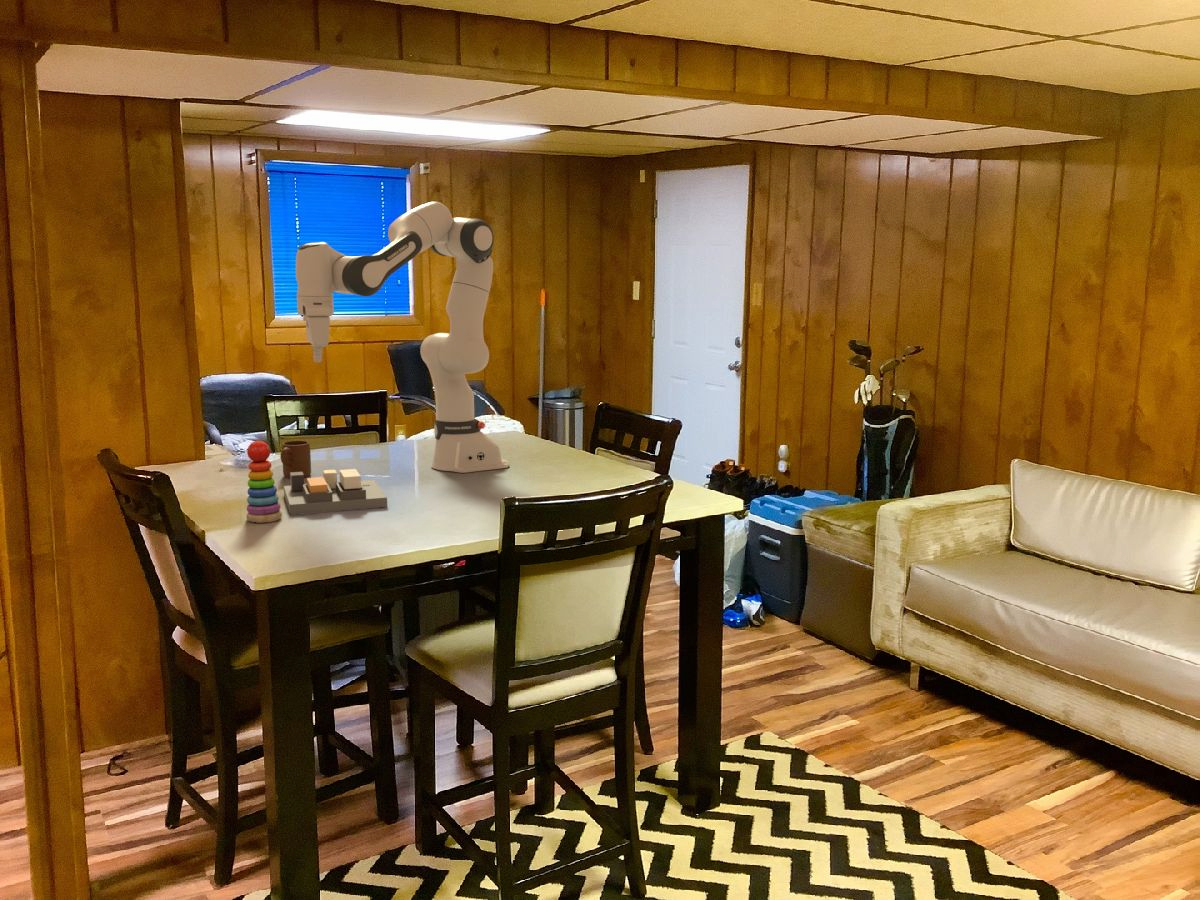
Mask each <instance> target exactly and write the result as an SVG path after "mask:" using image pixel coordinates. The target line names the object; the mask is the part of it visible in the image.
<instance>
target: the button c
mask: <svg viewBox="0 0 1200 900" xmlns="http://www.w3.org/2000/svg"><path fill="white" fill-rule="evenodd" d="M306 484H307V490H308V492H309V493H320V492H328V490H327V483H326V481H325V479H324V477H323V476H318V477H306Z"/></svg>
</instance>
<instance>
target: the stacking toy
mask: <svg viewBox="0 0 1200 900" xmlns="http://www.w3.org/2000/svg"><path fill="white" fill-rule="evenodd" d="M246 453H247V456H248V458H249V460H251V461H250V462H249V464H248V469H249V470H250V471H249V472H248V474H247V477H248V480H247V487H249V488H248V489H247V494H248V496H247V497H246V501H247V506H246V511H247V513H246V515H245V516H246V520H247V521H248V522H251V523H254V522H256V524H265V522H267V523H272V522H276V521H278V520H281V518H282V516H283V512H282V510H280V509H281V503H280V502H279V498H280V497H279V494H277V492H278V489H277V487H276V486H275V482H276V481H275V479H274V477H273V476H274V472H273V470H272V462H271V461H269V460H268V458H269V457H270V456H271V455H270V454H271V448H270V446H269V445H268V443H266V442H265V441H262V440H255V441H253V442H251V443H250V444H249V445H248V447H247V450H246Z"/></svg>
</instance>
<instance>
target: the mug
mask: <svg viewBox="0 0 1200 900" xmlns="http://www.w3.org/2000/svg"><path fill="white" fill-rule="evenodd" d="M280 451H281V452H280V454H279V455H280V461H281V463H282V473H283V474H282V475H283V477H285V478H288V479H290V472H303V474H304V478H309V477H310V476H311V474H312V461H311V460H312V458H311V457H312V456H311V444H310V442H309V441H308V440H307V441H305V440H290V441H285V442H282V444H281V450H280Z"/></svg>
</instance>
